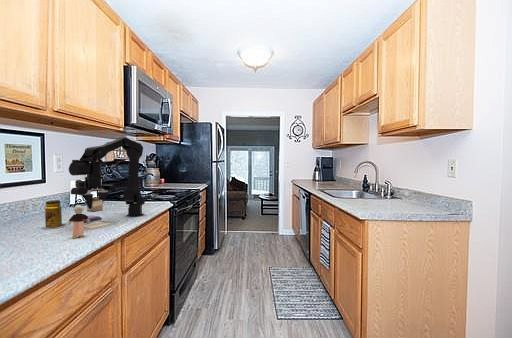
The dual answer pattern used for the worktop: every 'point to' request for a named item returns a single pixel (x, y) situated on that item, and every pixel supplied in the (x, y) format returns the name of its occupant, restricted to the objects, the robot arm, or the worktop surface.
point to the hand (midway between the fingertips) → (95, 207)
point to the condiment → (53, 215)
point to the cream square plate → (97, 225)
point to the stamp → (96, 205)
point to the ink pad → (92, 218)
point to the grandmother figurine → (78, 222)
